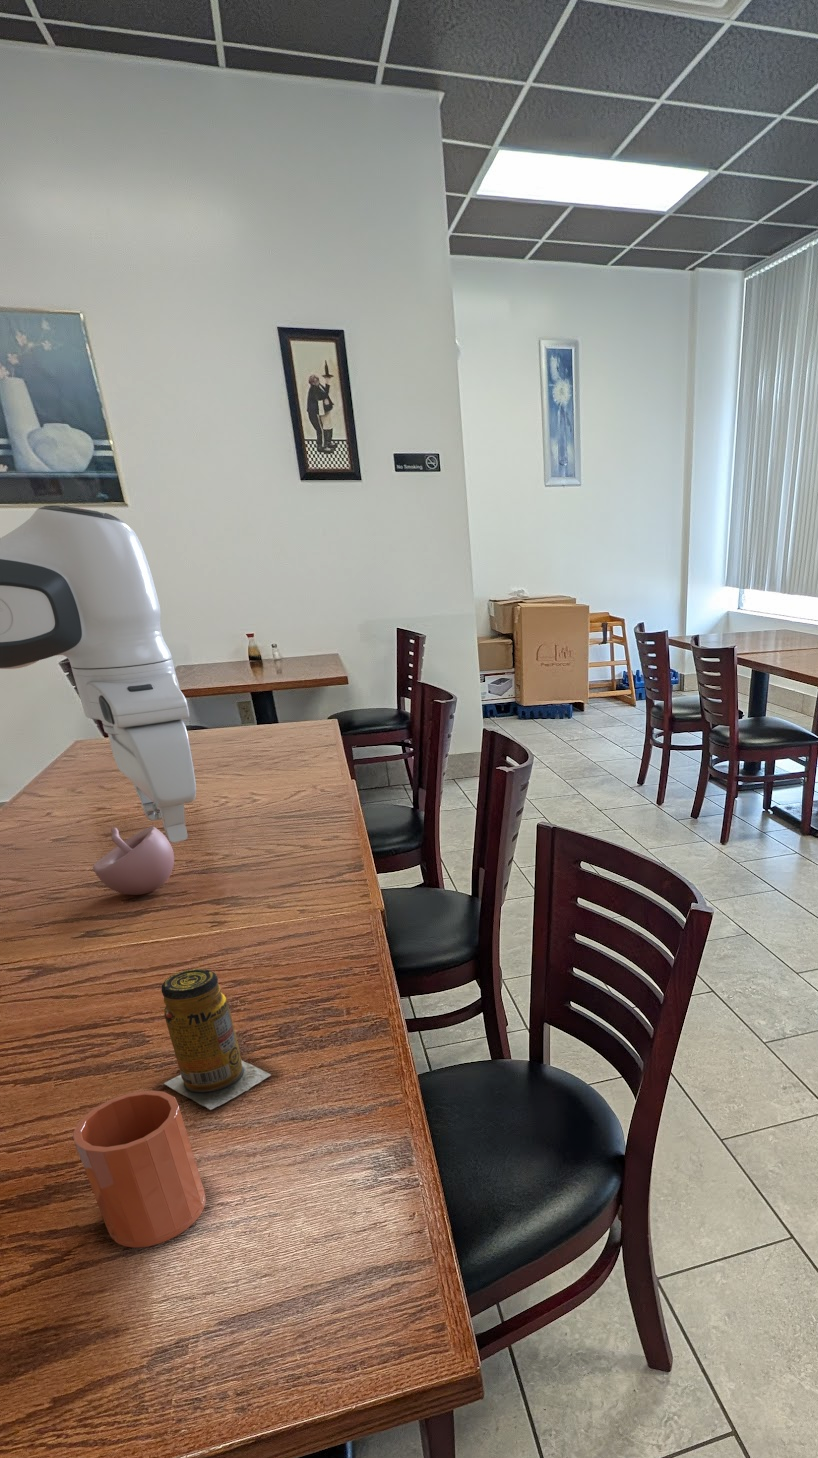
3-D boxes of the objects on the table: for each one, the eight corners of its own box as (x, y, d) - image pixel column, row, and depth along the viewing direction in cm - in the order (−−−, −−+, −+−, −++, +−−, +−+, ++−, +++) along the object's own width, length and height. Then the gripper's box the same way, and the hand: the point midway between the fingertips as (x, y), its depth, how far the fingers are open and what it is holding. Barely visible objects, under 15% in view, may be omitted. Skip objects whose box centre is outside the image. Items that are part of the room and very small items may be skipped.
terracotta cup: (97, 1255, 66) (59, 1158, 61) (122, 1190, 73) (89, 1098, 68) (197, 1237, 67) (167, 1141, 63) (212, 1175, 74) (186, 1084, 70)
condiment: (224, 1052, 92) (199, 957, 87) (271, 1076, 87) (248, 977, 82) (164, 1085, 87) (133, 986, 81) (211, 1112, 82) (182, 1010, 77)
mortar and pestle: (108, 885, 140) (88, 820, 135) (183, 874, 143) (167, 810, 138) (98, 911, 129) (76, 842, 124) (179, 899, 133) (162, 831, 128)
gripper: (77, 685, 86) (114, 813, 92) (115, 711, 71) (156, 861, 77) (142, 678, 89) (173, 801, 95) (191, 701, 74) (225, 846, 80)
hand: (166, 828), depth 86 cm, fingers open, 8 cm apart
